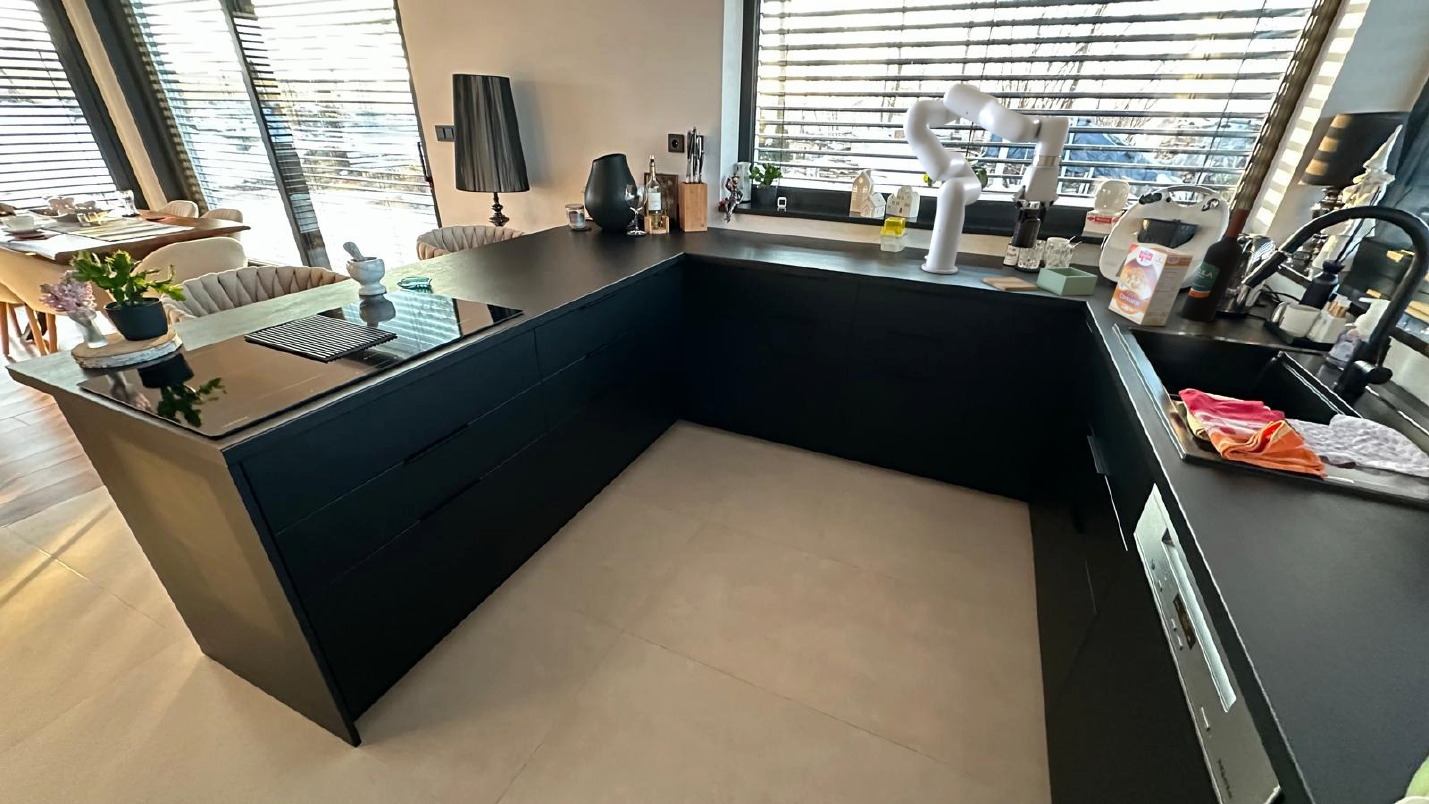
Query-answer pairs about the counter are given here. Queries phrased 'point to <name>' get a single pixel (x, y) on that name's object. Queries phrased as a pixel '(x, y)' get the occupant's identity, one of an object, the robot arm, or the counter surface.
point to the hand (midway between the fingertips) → (1028, 222)
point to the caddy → (1066, 281)
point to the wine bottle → (1215, 272)
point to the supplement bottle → (1027, 229)
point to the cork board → (1010, 284)
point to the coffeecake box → (1149, 283)
